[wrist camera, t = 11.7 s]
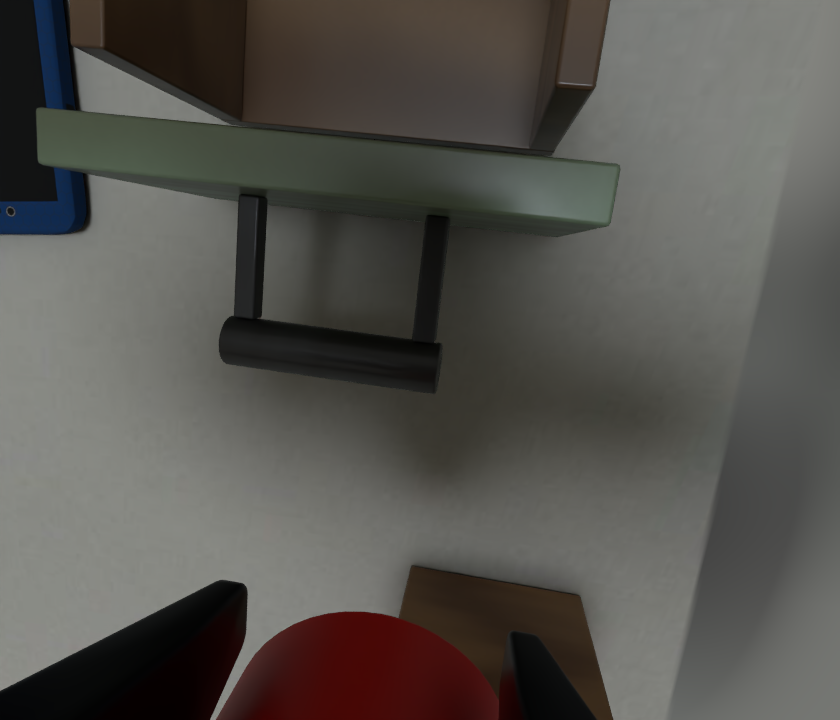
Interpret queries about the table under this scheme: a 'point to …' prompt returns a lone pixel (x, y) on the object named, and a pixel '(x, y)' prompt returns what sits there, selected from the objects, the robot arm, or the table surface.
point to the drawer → (356, 117)
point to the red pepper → (360, 674)
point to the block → (506, 625)
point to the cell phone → (34, 120)
